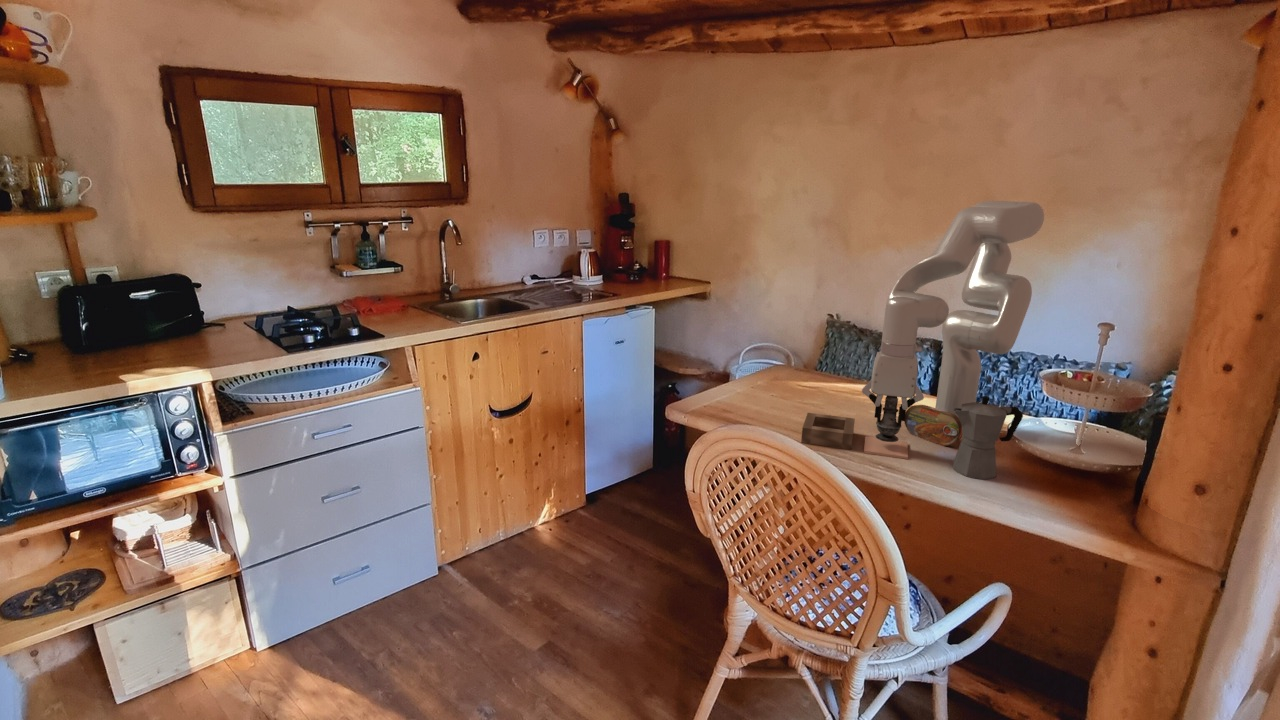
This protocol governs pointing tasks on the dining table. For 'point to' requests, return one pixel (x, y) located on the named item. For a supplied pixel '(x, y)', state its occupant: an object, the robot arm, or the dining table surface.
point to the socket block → (828, 430)
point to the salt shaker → (889, 421)
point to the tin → (933, 424)
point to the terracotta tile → (886, 448)
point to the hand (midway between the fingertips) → (889, 421)
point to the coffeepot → (982, 437)
